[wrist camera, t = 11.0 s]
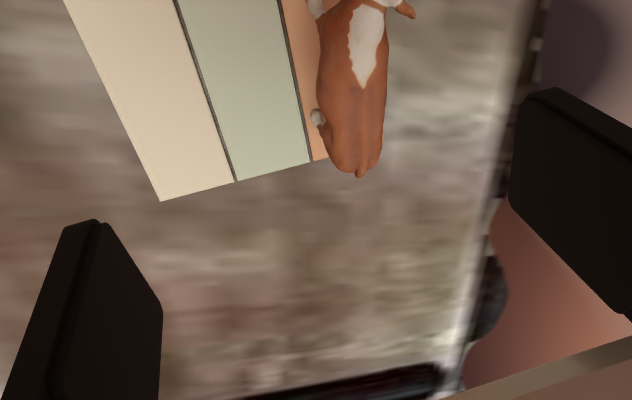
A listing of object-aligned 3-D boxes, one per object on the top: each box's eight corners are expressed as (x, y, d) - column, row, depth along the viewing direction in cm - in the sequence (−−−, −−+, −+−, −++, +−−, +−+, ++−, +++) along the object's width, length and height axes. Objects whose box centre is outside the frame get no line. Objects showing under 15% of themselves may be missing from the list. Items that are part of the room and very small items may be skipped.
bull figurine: (378, -72, 25) (440, -62, 19) (354, 135, 33) (392, 194, 26) (305, -77, 25) (344, -67, 18) (298, 138, 32) (323, 199, 26)
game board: (48, -35, 23) (46, -34, 23) (361, -103, 25) (363, -103, 24) (160, 198, 33) (160, 201, 33) (381, 140, 34) (383, 142, 34)
